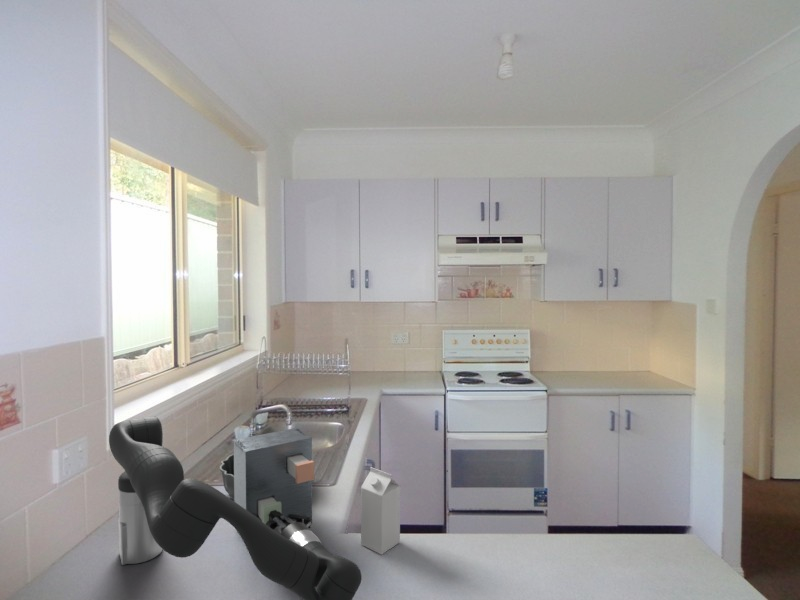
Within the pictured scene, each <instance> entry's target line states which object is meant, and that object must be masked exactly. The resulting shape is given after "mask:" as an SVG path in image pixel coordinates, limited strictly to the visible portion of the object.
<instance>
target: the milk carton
mask: <svg viewBox="0 0 800 600" xmlns="http://www.w3.org/2000/svg"><path fill="white" fill-rule="evenodd" d="M369 469H370V470H369V473H368V474H367V476H366V478H365V479H364V481H363V483H362V484H361V487H360V544H361V545H362V546H364V547H366V548H368V549H369V550H371V551H373V552H375V553H376V554H379V555H383V554H385V553H386V552H387V551H389V550H390V549H392V548H394V547H395V546H396V545H398V544H399V543H400V542H401V485H400V484H399V483H398V482H396V481H395V480H393V478H392V477H393V475H392V474H391V473H388V472H385V471H383V470H380V469H377V468H374V467H371V466H370V468H369Z"/></svg>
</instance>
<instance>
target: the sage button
mask: <svg viewBox="0 0 800 600" xmlns="http://www.w3.org/2000/svg"><path fill="white" fill-rule="evenodd" d="M274 510H276V511H277V512H278V511H279V512H280V513H281V502H280V501H278V502H277V501H276V500H275V499H274V498H273V497H272V496H270V497H266V498H263V499H259V500H257V515H258V516H259V517H260V518H261V520H262V522H263V523H265V524H266V523H267V521H269V514H270V512H271V511H274Z"/></svg>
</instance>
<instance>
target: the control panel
mask: <svg viewBox="0 0 800 600" xmlns="http://www.w3.org/2000/svg"><path fill="white" fill-rule="evenodd" d="M312 444H313V437H312V436H310V435H309V434H307V433H306V432H304V431H303V430H301V429H300V428H298V427H294V428H287V429H283V430H279V431H273V432H267V433H264V434H259V435H258V434H257V435H252V436H247V437H242V438H238V439H233V454H234V500H233V501H234V502H236V503H237V504H238V505H240V506H241V507H243V508H244V509H246V510H247V511H248V512H250V513H251V514H253V515H254V516H255V517H257V518H258V519H259V520H261V518H260V517H259V516H258V515H257V500H259V499H263V498H266V497H270V496H272V497H273V498H274V499H275V500H276V501H277V502H278V501H280V502H281V514H282V515H285V516H286V517H287V516H288V515H289V514H294V515H300V516H306V517H310V518H311V524H313V480H310V481H306V482H302V483H299V484H297V483H296V479H295V478H294V477H293V476H292V475H291V474H290V473H288V472H287V471H286V457H288V456H292V455H296V454H301V455H302V456H303V457H305V458H306V459H307V460H309V461H311V460H313V445H312ZM261 521H262V520H261ZM293 521H295V522H296V519H293ZM273 530H274V529H273Z"/></svg>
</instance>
